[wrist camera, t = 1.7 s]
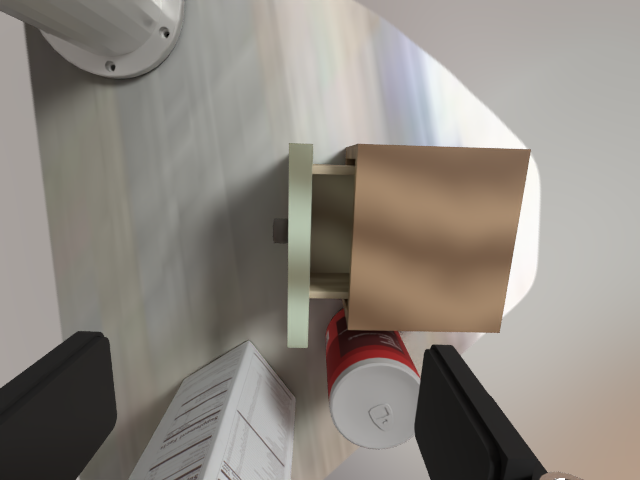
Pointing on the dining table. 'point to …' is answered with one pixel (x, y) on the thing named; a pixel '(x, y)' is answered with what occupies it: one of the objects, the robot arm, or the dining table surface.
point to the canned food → (370, 385)
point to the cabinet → (432, 236)
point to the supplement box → (225, 425)
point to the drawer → (315, 236)
